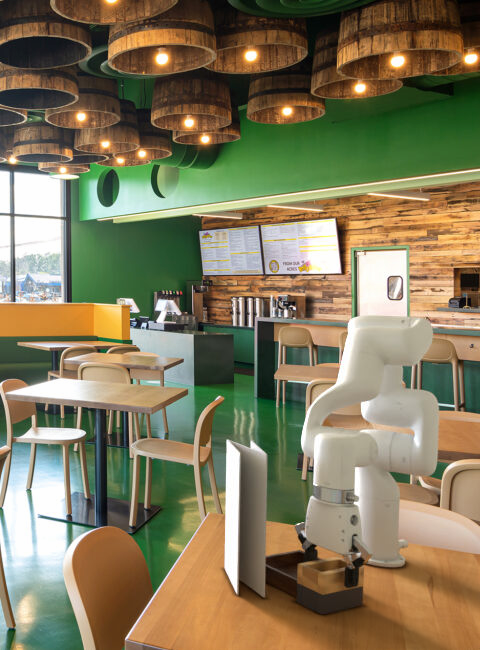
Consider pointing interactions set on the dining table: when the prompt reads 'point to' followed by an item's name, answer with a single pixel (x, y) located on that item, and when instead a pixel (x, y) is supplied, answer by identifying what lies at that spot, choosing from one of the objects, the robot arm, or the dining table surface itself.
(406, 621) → the dining table surface
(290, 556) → the holder
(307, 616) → the dining table surface
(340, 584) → the frame top
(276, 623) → the dining table surface
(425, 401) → the robot arm
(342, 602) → the frame low
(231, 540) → the brochure
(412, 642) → the dining table surface
